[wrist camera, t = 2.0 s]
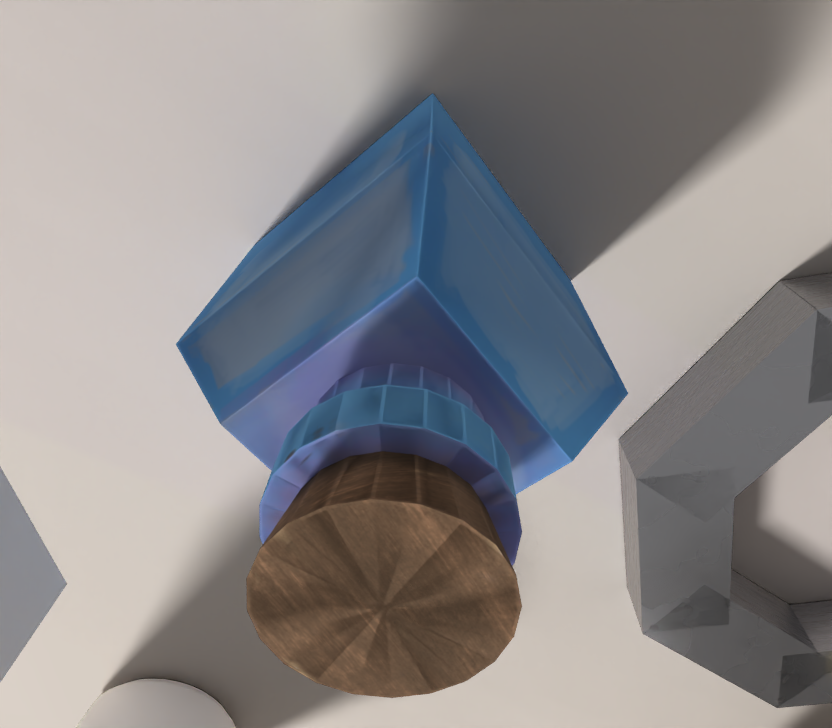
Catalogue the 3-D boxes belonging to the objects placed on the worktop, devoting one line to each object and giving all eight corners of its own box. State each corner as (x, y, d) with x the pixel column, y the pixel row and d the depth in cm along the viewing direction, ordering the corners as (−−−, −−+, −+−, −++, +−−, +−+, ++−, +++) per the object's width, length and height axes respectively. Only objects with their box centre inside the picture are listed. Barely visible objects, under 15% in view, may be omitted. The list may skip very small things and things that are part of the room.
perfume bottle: (570, 280, 18) (756, 645, 8) (398, 398, 20) (357, 820, 10) (432, 92, 16) (427, 238, 6) (254, 244, 18) (-3, 570, 7)
